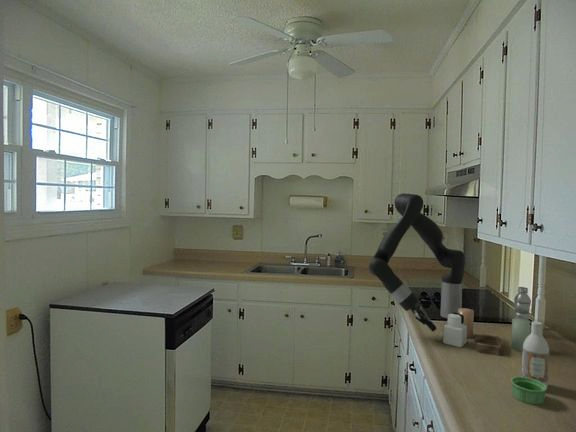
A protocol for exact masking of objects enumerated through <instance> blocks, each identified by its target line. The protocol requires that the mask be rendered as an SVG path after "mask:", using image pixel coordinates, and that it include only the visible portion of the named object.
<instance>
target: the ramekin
mask: <svg viewBox="0 0 576 432" xmlns="http://www.w3.org/2000/svg"><path fill="white" fill-rule="evenodd" d="M510 382H511V393H512V396H513V397H514V398H515V399H516V400H518V401H520V402H522V403H524V404H527V405H535V406H536V405H537V406H538V405H542V404H544V402H545V398H546V393H547V391H548V386H547V387H546V385H544V384H543V383H542V382H540V381H537V380H535V379H531V378H527V377H522V376H514V377H512V378H510Z"/></svg>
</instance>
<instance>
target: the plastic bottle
mask: <svg viewBox="0 0 576 432" xmlns="http://www.w3.org/2000/svg"><path fill="white" fill-rule="evenodd" d="M528 290H529V288H528V287H524V286H519V287H518V289H517V292H518V293H517V294H516V295H515V297H514V298H513V301H514V318H521V319H526V320H528V321H530V309H531V305H532V304H531V303H532V300H531V299H532V298H531V297H530V296H529V294H528V292H529V291H528Z"/></svg>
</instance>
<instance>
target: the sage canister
mask: <svg viewBox="0 0 576 432" xmlns="http://www.w3.org/2000/svg"><path fill="white" fill-rule="evenodd" d="M530 331H531V321H530V320H529V321H528V320H526V319H521V318H515V317H513V318H512V319H511V337H510V338H511V339H510V347H511V348H512V349H513V350H516V351H521V352H523V344H524V341H525V339H526V338H527V337H528V336H529V335H530V334H531V332H530Z"/></svg>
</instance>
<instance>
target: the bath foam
mask: <svg viewBox="0 0 576 432" xmlns="http://www.w3.org/2000/svg"><path fill="white" fill-rule="evenodd" d="M543 327H544V324H543V322H540V321H535V320H534V321H531V324H530V331H531V332H530V334H529V336H528V337H527V338H526V339H525V341H524V344H523V351H522V358H521V359H522V360H521V362H522V363H521V377H527V378H531V379H535V380H537V381H540V382H542V383H543V384H544V385H546V387H547V388H548V382H549V367H550V365H549V362H550V348H549V344H548V342H547V340H546V339H545V338H544V337H545V336H544V335H543Z"/></svg>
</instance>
